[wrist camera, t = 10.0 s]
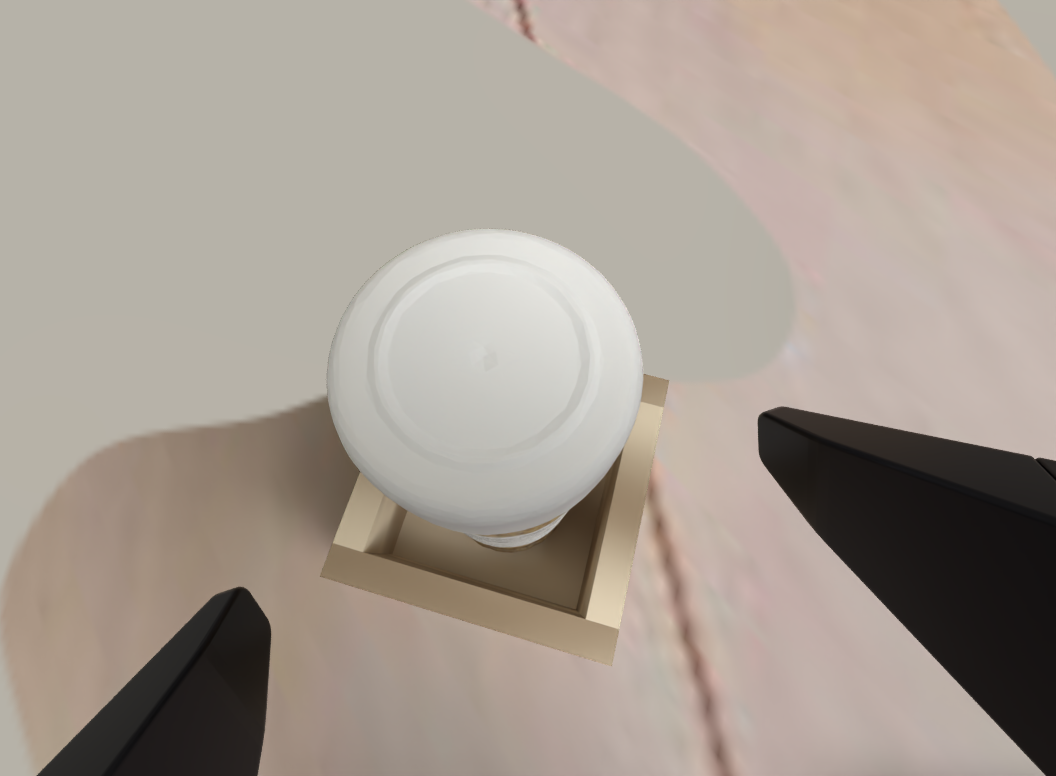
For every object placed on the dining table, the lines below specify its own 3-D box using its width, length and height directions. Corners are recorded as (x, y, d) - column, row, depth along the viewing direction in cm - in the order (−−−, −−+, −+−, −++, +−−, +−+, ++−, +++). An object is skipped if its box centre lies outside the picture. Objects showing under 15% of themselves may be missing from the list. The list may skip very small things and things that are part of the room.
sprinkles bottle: (476, 419, 21) (399, 180, 8) (584, 456, 20) (685, 265, 8) (431, 531, 19) (253, 454, 7) (547, 573, 19) (597, 580, 6)
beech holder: (593, 643, 19) (611, 666, 15) (365, 573, 20) (319, 576, 16) (642, 416, 22) (669, 380, 17) (440, 364, 23) (419, 317, 18)
